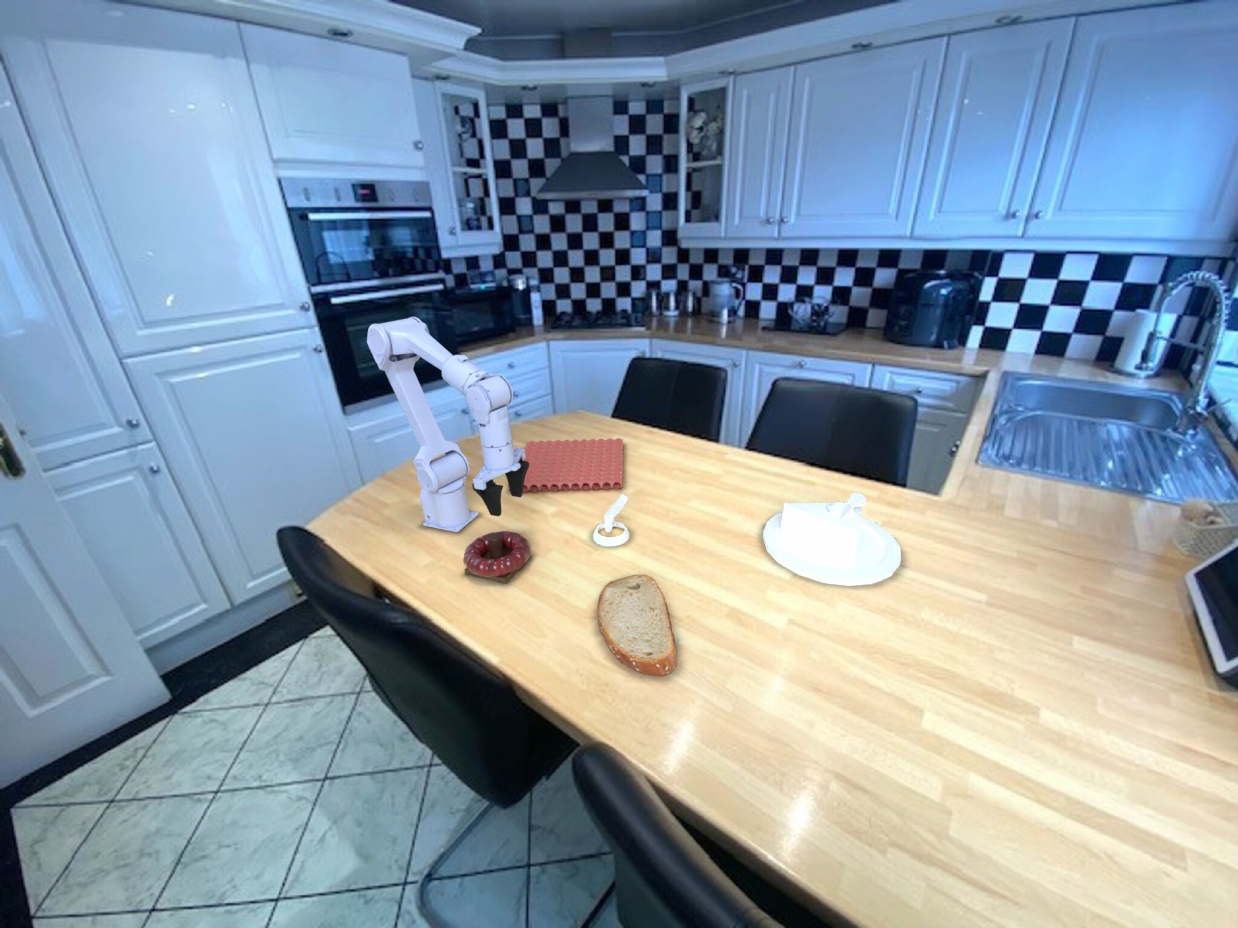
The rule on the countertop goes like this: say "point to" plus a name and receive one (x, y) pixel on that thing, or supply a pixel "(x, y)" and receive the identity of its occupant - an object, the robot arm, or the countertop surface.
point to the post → (495, 553)
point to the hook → (612, 525)
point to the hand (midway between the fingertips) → (506, 505)
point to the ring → (498, 565)
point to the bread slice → (637, 624)
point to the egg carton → (574, 465)
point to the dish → (832, 543)
